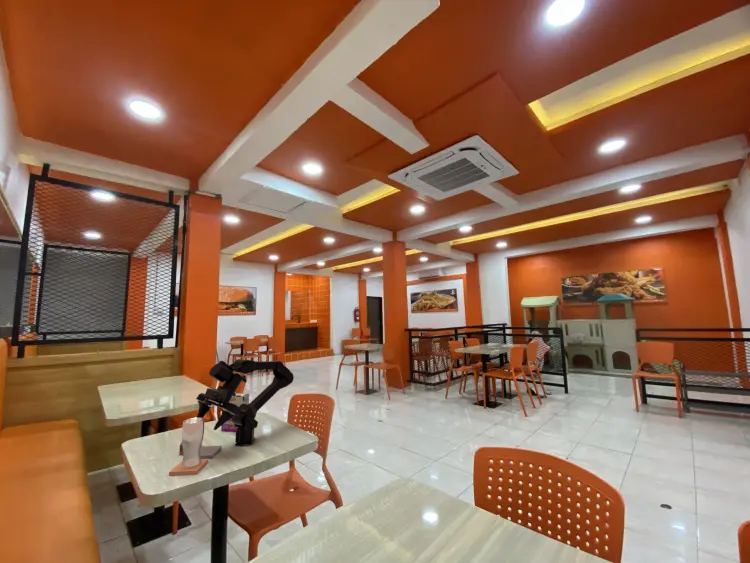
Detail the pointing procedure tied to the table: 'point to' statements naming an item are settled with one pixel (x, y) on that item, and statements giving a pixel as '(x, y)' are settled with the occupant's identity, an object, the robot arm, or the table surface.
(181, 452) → the walnut block
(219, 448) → the slate tile
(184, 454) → the beer glass
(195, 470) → the terracotta tile
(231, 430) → the candy bar box
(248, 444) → the robot arm
